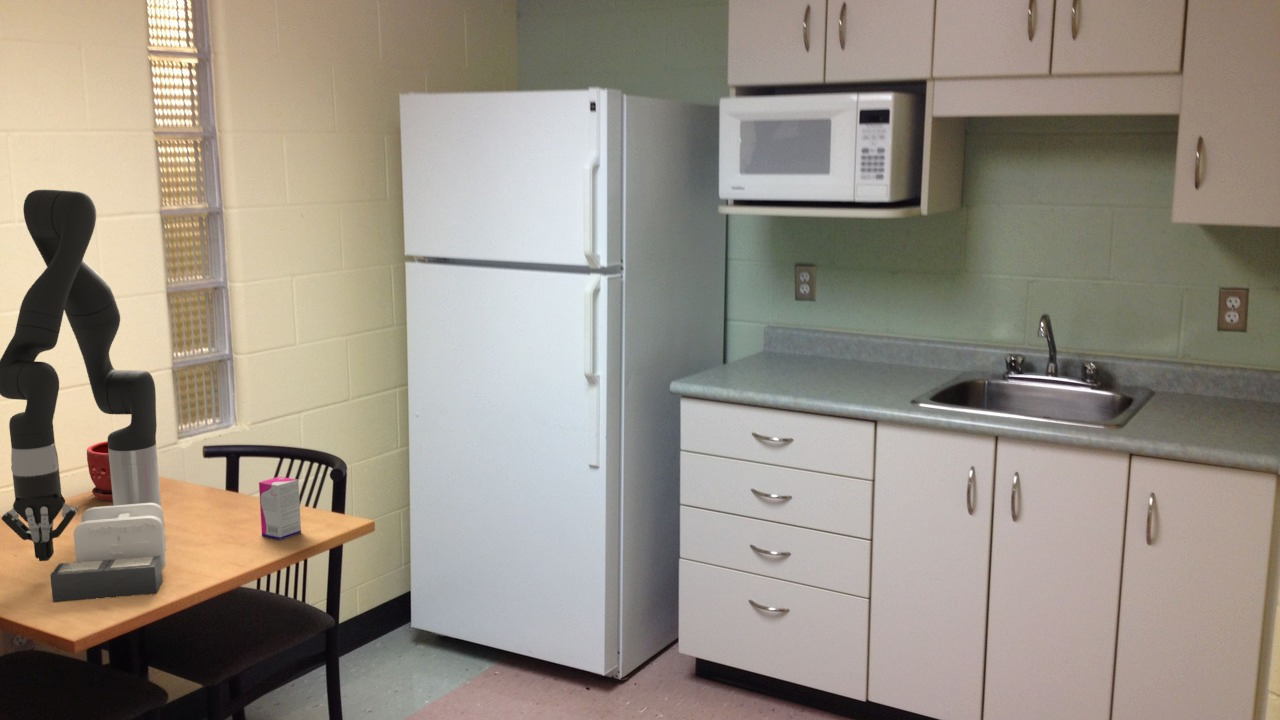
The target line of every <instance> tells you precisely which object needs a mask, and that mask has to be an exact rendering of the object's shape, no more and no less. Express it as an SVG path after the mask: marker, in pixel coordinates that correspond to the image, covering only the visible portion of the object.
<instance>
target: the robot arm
mask: <svg viewBox="0 0 1280 720" xmlns="http://www.w3.org/2000/svg"><path fill="white" fill-rule="evenodd" d="M23 202H24V203H23V217H24V222H25V225H26V229H27V231H28V233H29V235H30V237H31V238H32V241H33V242H34V244H35V246H36V249H37V250H38V252H39V254H40V255H41V257H42V260H43V262H44V263H45V265H46V268H45V269H44V270H43V272H42V273H41V275H40V276H39V277H38V278H36V280H35V281H34V282H33V284H32V285H31V286H30V287H29V289H28V290H27V291H26V294H25V295H24V297H23V299H22V302H21V304H20V308H19V313H18V316H17V322H16V326H15V329H14V333H13V334H14V335H13V336H12V338H11V340H9V343H8V345H7V347H6V348H5V350H4V352H3V354H2V356H1V358H0V396H2V398H6V399H9V400H17V401H18V400H21V401H26V405H25V410H24V411H22V412H18V413H16V414H14V415H13V416H11V417H10V419H9V422H8V423H9V424H8V425H9V426H8V427H9V436H10V446H11V447H10V448H11V451H10V452H11V453H10V454H11V455H10V456H11V457H10V463H11V466H10V467H11V472H12V473H11V474H12V480H13V481H12V483H13V491H14V502H13V504H12V508H11V509H10V510H9V511H6V512H5V513H4V514H3V515H2V516H1V521H2V522H4V524H6V526H7V527H9V529H11V530H12V531H13V532H14V533H16V535H17V536H18V537H19V538H20V539H22V540H23V541H26V540H28V541H31V542H33V548H34V549H33V550H34V556H35V558H36V559H38V561H39V562H47V561H49V560H50V559H51V558H52V557H53V555H54V554H55V553H54V552H55V551H54V550H55V549H54V542H53V541H54V539H55V538H59V537H60V536H61V534H62V533H63V532H64V531H65V530H66V528H67V527H68V526H69V525H70V523H71V522H72V520H73V518H74V517H75V516H76V515H77V513H78V512H79V508H78V507H77V506H73V507H72V506H70V505H69V504H67V503H66V499H65V498H64V496H63V495H62V487H61V476H60V475H61V474H60V465H59V456H58V451H57V447H56V442H55V431H54V430H55V429H54V423H53V422H54V417H55V412H56V406H57V401H58V396H59V392H60V379H59V375H58V372H57V371H56V369H55V368H54V367H53V366H52V365H51V364H50V363H49V362H45V361H36V359H37V357H38V356H39V355H40V354H41V353H43V352H47V351H50V350H53V349H54V348H55V347H56V345H57V344H58V340H59V335H60V331H61V326H62V323H63V322H62V321H63V316H64V313H65V315H66V318H67V321H68V323H69V326H70V327H71V330H72V332H73V334H74V338H75V339H76V342H77V344H78V347H79V351H80V353H81V356H82V359H83V362H84V365H85V369H86V372H87V377H88V380H89V384H90V388H91V391H92V392H91V393H92V394H93V395H92V396H93V398H94V402H95V403H96V406H97V407H98V409H99V410H100V411H101V412H102V413H103V414H107V415H130V416H131V417H130V419H131V420H130V424H129V425H127V426H125V427H123V428H120V429H117V430H114V431H113V432H110V433H109V435H108V436H107V441H108V451H109V462H110V473H111V484H112V495H113V501H112V506H115V505H128V504H140V503H156V504H158V505H160V506H161V507H162V500H161V499H162V497H161V496H162V495H161V485H160V474H159V462H158V450H157V437H156V436H157V435H156V434H157V425H158V424H157V405H156V404H157V395H156V392H157V391H156V384H155V381H154V378H153V376H152V374H151V373H150V372H149V371H147V370H141V369H139V370H138V369H137V370H135V369H133V370H132V369H126V370H125V369H120V370H119V369H118V370H116V369H115V368H114V367H113V365H112V362H111V358H110V350H111V348H112V345H113V342H114V340H115V337H116V335H117V333H118V330H119V327H120V323H121V313H120V310H119V307H118V305H117V301H116V298H115V295H114V293H113V291H112V288H111V287H110V286H109V284H108V282H106V280H105V279H104V278H103V277H102V276H101V275H100V274H99V273H98V272H97V271H96V270H95V269H94V268H92V267H91V265H89V264H88V263H87V261H85V260H84V256H85V255H86V253H87V252H86V251H87V249H88V246H89V245H90V242H91V240H92V236H93V234H94V230H95V228H96V224H97V223H96V221H97V209H96V205H95V202H94V200H93V199H92V197H91V196H90V195H89V194H87V193H85V192H83V191H76V190H74V191H72V190H61V189H35V190H32V191H30V192H29V193H28V194H27V195H26V196H25V199H24V201H23ZM61 510H62V512H61ZM60 512H61V517H63V519H62V520H61V521H60V523H59V524H58V526H57V527H56V528H55V529H54V520H55V519H56V518H57V517H58V515H59V513H60ZM20 517H21V519H23V520H24V521H25V522H26V523H27V524H28V525H26V524H25V523H24V522H22V520H21V519H20Z"/></svg>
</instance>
